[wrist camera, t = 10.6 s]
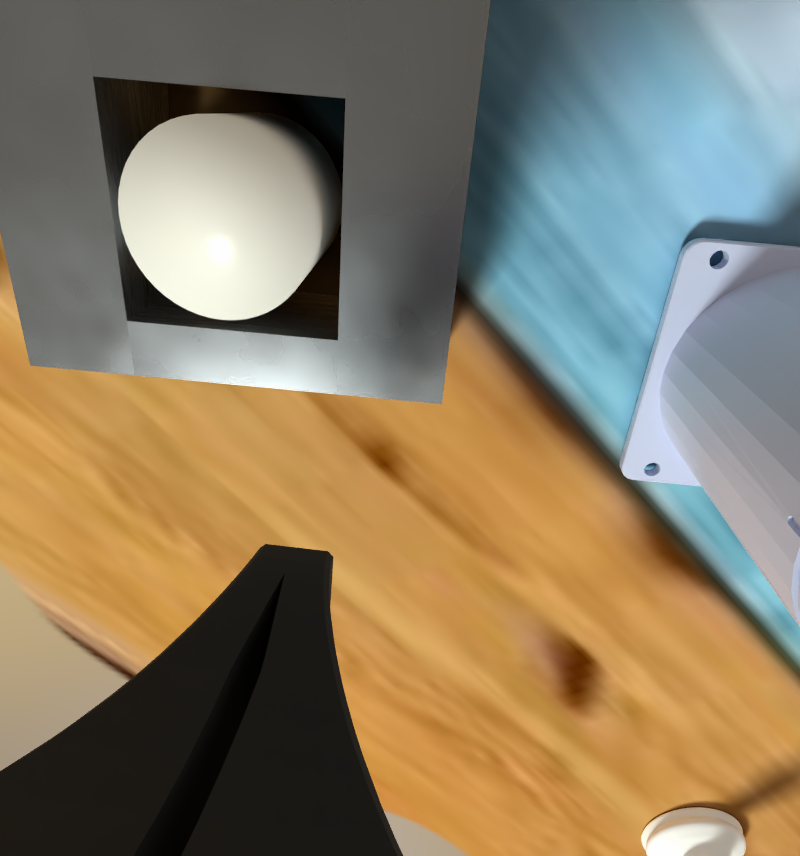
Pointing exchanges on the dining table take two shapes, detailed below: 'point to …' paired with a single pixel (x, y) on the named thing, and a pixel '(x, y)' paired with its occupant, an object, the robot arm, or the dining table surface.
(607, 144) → the dining table surface
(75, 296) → the knob mount
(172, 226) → the knob
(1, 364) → the dining table surface
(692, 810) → the chess piece
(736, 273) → the robot arm
